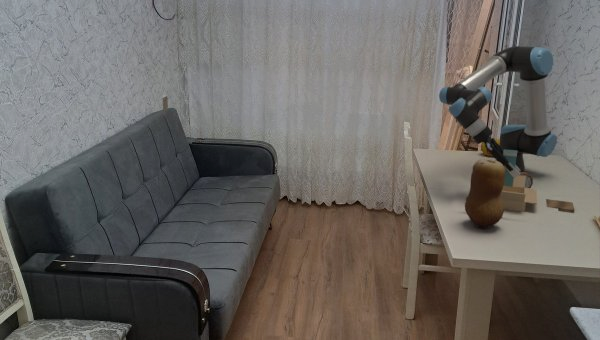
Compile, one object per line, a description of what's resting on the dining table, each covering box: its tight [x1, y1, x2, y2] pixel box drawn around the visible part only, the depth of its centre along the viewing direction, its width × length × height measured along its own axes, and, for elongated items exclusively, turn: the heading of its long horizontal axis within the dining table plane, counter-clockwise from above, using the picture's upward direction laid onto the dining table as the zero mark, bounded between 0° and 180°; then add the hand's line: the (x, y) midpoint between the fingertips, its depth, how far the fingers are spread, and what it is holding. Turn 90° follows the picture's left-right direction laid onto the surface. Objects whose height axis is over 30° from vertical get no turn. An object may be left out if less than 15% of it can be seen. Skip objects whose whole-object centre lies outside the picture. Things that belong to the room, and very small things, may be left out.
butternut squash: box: [464, 158, 505, 229], centre depth 188 cm, size 14×13×25 cm
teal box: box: [503, 149, 517, 187], centre depth 211 cm, size 5×5×14 cm
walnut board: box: [545, 198, 575, 214], centre depth 212 cm, size 10×10×1 cm
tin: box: [519, 171, 534, 189], centre depth 233 cm, size 15×3×8 cm, turn 71°
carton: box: [500, 176, 538, 213], centre depth 215 cm, size 23×26×9 cm
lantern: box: [466, 138, 500, 158], centre depth 291 cm, size 10×10×30 cm
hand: (517, 174), depth 210 cm, fingers closed on teal box, 5 cm apart
